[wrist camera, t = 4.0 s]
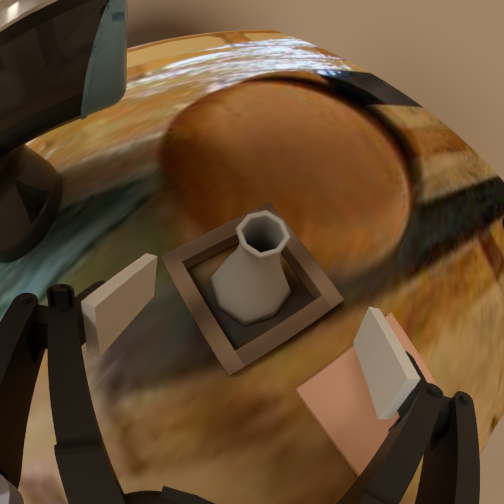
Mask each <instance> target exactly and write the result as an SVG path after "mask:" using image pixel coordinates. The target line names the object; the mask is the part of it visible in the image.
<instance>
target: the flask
mask: <svg viewBox="0 0 504 504" xmlns="http://www.w3.org/2000/svg"><path fill="white" fill-rule="evenodd" d="M236 232H237V235H238V238H239V246H238V248H237V249H236V251H234V252H233V253H232V254H230V255H229V256H228V257H227V258H226V260H225V261H224V262H223V263H222V264H221V266H220V267H219V268H218V269H217V270H216V272H215V273H214V274H213V275H212V277H211V278H210V283H211V286H212V289H213V293H214V296H215V299H216V303H217V306H218V308H219V309H221V310H222V311H223V312H225V313H226V314H228V315H229V316H230V317H232V318H233V319H235V320H236V321H238V322H239V323H240V324H242V325H243V326H247V325H250V324H253V323H256V322H260V321H263V320H266V319H269V318H272V317H275V316H276V314H277V313H278V311H279V310H280V308H281V307H282V305H283V304H284V302H285V301H286V299H287V298H288V296H289V295H290V293H291V290H290V287H289V285H288V282H287V280H286V277H285V275H284V272H283V269H282V266H281V263H280V253H281V251H282V250H283V248H284V247H285V246H286V244H287V243H288V241H289V240H290V238H291V236H290V234H289V232H288V230H287V227H286V225H285V223H284V221H283V220H282V219H280V218H279V217H277V216H276V215H274V214H272V213H271V212H269V211H267V210H265V211H260V212H256V213H251V214H248V215H247V216H246V217H245V218H244V219H243V220H242V222H241V223H240V224H239V225H238V226H237V227H236Z"/></svg>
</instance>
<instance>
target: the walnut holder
mask: <svg viewBox="0 0 504 504" xmlns="http://www.w3.org/2000/svg"><path fill="white" fill-rule="evenodd" d="M265 210H267V211H269V212H271V213H272V214H274V215H276V216H277V217H279V218H280V219H282V220H283V221H284V223H285V225H286V227H287V230H288V232H289V234H290V236H291V238H290V240H289V241H288V243H287V244H286V246H285V247H284V248H283V250H282V251H281V254H282V255H283V257H284V258H285V259H286V261H287V262H288V263H289V265H290V266H291V268H292V269H293V270H294V272H295V273H296V274H297V276H298V277H299V279H300V280H301V281H302V283H303V284H304V286H305V287H306V288H307V290H308V291H309V293H310V294H311V295H312V297H313V298H314V301H313V302H311V303H310V304H308V305H307V306H305V307H304V308H302V309H301V310H299V311H298V312H296V313H295V314H293V315H292V316H290V317H289V318H287V319H286V320H284V321H283V322H281V323H280V324H278V325H276V326H275V327H273V328H272V329H270V330H268V331H267V332H265V333H264V334H262V335H260V336H259V337H257V338H256V339H254V340H252V341H251V342H249V343H247V344H246V345H244V346H242V347H241V348H239V349H237V350H236V351H235V350H234V349H233V347H232V345H231V344H230V342H229V341H228V339H227V337H226V336H225V334H224V333H223V331H222V329H221V328H220V326H219V325H218V323H217V321H216V320H215V318H214V316H213V315H212V313H211V311H210V310H209V308H208V306H207V305H206V303H205V301H204V300H203V298H202V296H201V294H200V293H199V291H198V289H197V287H196V286H195V284H194V282H193V280H192V279H191V277H190V275H189V273H188V272H187V269H189V268H191V267H192V266H194V265H196V264H198V263H200V262H202V261H204V260H206V259H208V258H210V257H212V256H214V255H215V254H217V253H219V252H221V251H223V250H225V249H227V248H229V247H231V246H233V245H235V244H237V243H239V238H238V235H237V232H236V227H237V226H238V225H239V224H240V223H241V222H242V220H243V219H244V218H245V217H246V216H247V215H248V214H251V213H256V212H260V211H265ZM161 258H162V260H163V263H164V265H165V267H166V269H167V270H168V272H169V274H170V276H171V278H172V280H173V282H174V284H175V286H176V288H177V289H178V291H179V293H180V295H181V297H182V299H183V300H184V302H185V304H186V306H187V308H188V309H189V311H190V313H191V315H192V317H193V318H194V320H195V322H196V324H197V325H198V327H199V329H200V330H201V332H202V334H203V335H204V337H205V339H206V340H207V342H208V344H209V345H210V347H211V349H212V350H213V352H214V354H215V355H216V357H217V358H218V360H219V362H220V363H221V365H222V366H223V368H224V370H225V371H226V373H227V374H228V376H230V375H232V374H233V373H235V372H237V371H238V370H240V369H242V368H243V367H245V366H247V365H248V364H250V363H252V362H253V361H255V360H257V359H258V358H260V357H262V356H263V355H265V354H266V353H268V352H269V351H271V350H273V349H274V348H276V347H277V346H279V345H280V344H282V343H283V342H285V341H286V340H288V339H289V338H291V337H292V336H294V335H295V334H297V333H298V332H300V331H301V330H303V329H304V328H306V327H307V326H309V325H310V324H311V323H313V322H314V321H316V320H317V319H318V318H320V317H321V316H323V315H324V314H325V313H327V312H328V311H330V310H331V309H332V308H334V307H335V306H336V305H338V304H339V303H340V302H342V301H343V300H344V299H343V297H342V296H341V295H340V293H339V292H338V290H337V289H336V288H335V286H334V285H333V284H332V282H331V281H330V280H329V278H328V277H327V275H326V274H325V273H324V271H323V270H322V269H321V267H320V266H319V265H318V263H317V262H316V261H315V259H314V258H313V257H312V255H311V254H310V253H309V251H308V250H307V249H306V247H305V246H304V245H303V243H302V242H301V241H300V240H299V238H298V237H297V236H296V234H295V233H294V232H293V230H292V229H291V228H290V227H289V225H288V224H287V223H286V222H285V220H284V219H283V218H282V216H281V215H280V214H279V213H278V211H277V210H276V209H275V208H274V206H273V205H272V204H271V203H270V202H269V203H267V204H265V205H263V206H261V207H259V208H257V209H254V210H252V211H250V212H248V213H246V214H244V215H242V216H240V217H238V218H236V219H234V220H231V221H229V222H227V223H225V224H223V225H221V226H219V227H217V228H215V229H213V230H211V231H209V232H207V233H205V234H203V235H201V236H199V237H197V238H195V239H193V240H191V241H189V242H187V243H185V244H183V245H181V246H179V247H177V248H175V249H173V250H171V251H169V252H167V253H166V254H164V255H162V256H161Z"/></svg>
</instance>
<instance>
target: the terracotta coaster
mask: <svg viewBox="0 0 504 504" xmlns="http://www.w3.org/2000/svg"><path fill="white" fill-rule="evenodd" d="M384 317H385V319H386V320H387V322H388V323H389V325H390V327H391V328H392V330H393V332H394V333H395V335H396V337H397V338H398V340H399V342H400V343H401V345H402V347H403V349H404V350H405V351H407V352H408V353H409V354H410V355H411V356H413V358H414V360H415V361H416V364H417V365H418V367H419V369H420V370H421V372H422V374H423V375H424V377H425V379H426V381H427V383H432V384H435V385H436V386H437V384H436V382H435V381H434V379H433V377H432V375H431V374H430V372H429V370H428V369H427V367H426V365H425V364H424V362H423V361H422V359H421V357H420V356H419V354H418V352H417V351H416V349H415V348H414V346H413V345H412V343H411V341H410V340H409V338H408V337H407V335H406V334H405V332H404V331H403V329H402V328H401V326H400V325H399V323H398V322H397V320H396V319H395V317H394V316H393V314H392V313H391V312H390V313H389V314H387V315H385V316H384ZM293 390H294V391H295V393H296V394H297V396H298V397H299V398H300V400H301V401H302V403H303V404H304V406H305V407H306V408H307V410H308V411H309V412H310V414H311V415H312V417H313V418H314V419H315V421H316V422H317V424H318V425H319V426H320V428H321V429H322V430H323V432H324V433H325V434H326V436H327V437H328V438H329V440H330V441H331V442H332V444H333V445H334V446H335V448H336V449H337V450H338V452H339V453H340V454H341V456H342V457H343V458H344V459H345V461H346V462H347V463H348V465H349V466H350V467H351V469H352V470H353V471H354V472H355V474H356V475H357V476H358V477H359V476H360V475H361V473H362V472H363V470H364V469H365V468H366V466H367V465H368V464H369V462H370V461H371V459H372V458H373V456H374V455H375V453H376V452H377V451H378V449H379V447H380V446H381V444H382V443H383V441H384V440H385V438H386V437H387V435H388V433H389V431H388V430H389V429H390V427H391V426H392V425H393V424H394V423H395V421H396V420H397V419H398V418H399V414H398V411H397V412H396V413H395V415H394V416H393V417H392V418H391V419H378V418H377V414H376V411H375V408H374V404H373V401H372V398H371V395H370V392H369V389H368V386H367V383H366V380H365V377H364V374H363V371H362V368H361V365H360V362H359V359H358V356H357V353H356V351H355V348H354V345H353V344H352V345H350V346H349V347H348V348H347V349H346V350H344V351H343V352H342V353H341V354H339V355H338V356H337V357H335V358H334V359H333V360H332V361H330V362H329V363H328V364H326V365H325V366H324V367H322V368H321V369H320V370H318V371H317V372H316V373H314V374H313V375H312V376H310V377H309V378H307V379H306V380H305V381H303V382H302V383H300V384H299V385H297V386H296V387H295V388H293Z"/></svg>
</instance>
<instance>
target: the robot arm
mask: <svg viewBox="0 0 504 504" xmlns="http://www.w3.org/2000/svg"><path fill="white" fill-rule="evenodd" d="M127 18H128V0H0V261H11V260H14V259H16V258H18V257H20V256H21V255H23V254H24V253H26V252H27V251H28V250H29V249H31V248H32V247H33V246H34V245H35V244H36V243H37V242H38V240H39V239H40V238H41V237H42V236H43V234H44V233H45V232H46V230H47V229H48V227H49V225H50V224H51V222H52V220H53V218H54V216H55V214H56V212H57V210H58V207H59V204H60V200H61V196H62V183H61V179H60V177H59V175H58V174H57V172H56V170H55V169H54V167H53V166H52V165H51V164H50V163H49V162H48V161H47V160H45V159H44V158H43V157H41V156H40V155H39V154H37V153H36V152H35V151H33V150H32V149H31V148H29V147H28V146H27V145H26V144H25V143H27V142H29V141H31V140H33V139H35V138H37V137H39V136H41V135H43V134H45V133H47V132H49V131H52V130H54V129H56V128H58V127H61V126H63V125H66V124H68V123H70V122H73V121H75V120H78V119H82V120H83V119H85V118H86V117H87V116H88V115H90V114H92V113H95V112H97V111H100V110H103V109H105V108H108V107H111V106H113V105H115V104H116V103H118V102H119V101H120V100H121V98H122V97H123V95H124V93H125V91H126V84H127ZM156 267H157V256H155V255H151V254H148V253H146V254H144V255H143V256H142V257H140V258H139V259H137V260H136V261H135V262H133V263H132V264H130V265H129V266H128V267H126V268H125V269H123V270H122V271H121V272H119V273H118V274H117V275H115V276H114V277H112V278H111V279H110V280H108V281H107V282H105V281H99V282H96V283H94V284H92V285H91V286H90V287H88V288H87V289H85V290H84V292H81V293H80V294H79V295H77V296H76V297H75V296H74V289H73V287H71V286H70V285H67V284H55V285H52V286H50V287H49V288H48V289H47V299H48V305H49V306H44V305H39V304H38V299H37V296H36V295H34V294H32V293H22V294H20V295H18V296H16V298H15V299H14V300H13V302H12V303H11V305H10V306H9V308H8V310H7V311H6V313H5V315H4V316H3V318H2V320H1V322H0V504H24V501H23V498H22V495H21V493H20V492H19V491H18V487H19V482H20V477H21V469H22V458H23V448H24V440H25V433H26V427H27V421H28V415H29V410H30V405H31V400H32V396H33V392H34V387H35V383H36V380H37V376H38V372H39V369H40V365H41V362H42V358H43V355H44V352H45V349H48V376H49V390H50V400H51V409H52V416H53V423H54V429H55V435H56V441H57V445H55V446H54V450H55V456H56V461H57V465H58V469H59V473H60V477H61V480H62V484H63V487H64V490H65V494H66V497H67V500H68V503H69V504H214V503H212V502H210V501H208V500H205V499H203V498H201V497H199V496H197V495H193V494H190V493H186V492H182V491H179V490H175V489H172V488H169V487H166V486H163V489H162V492H161V491H138V492H132V493H128V494H124V492H123V490H122V488H121V486H120V483H119V481H118V479H117V477H116V474H115V472H114V469H113V467H112V464H111V462H110V459H109V456H108V453H107V451H106V448H105V445H104V442H103V439H102V436H101V432H100V429H99V426H98V422H97V419H96V415H95V412H94V408H93V404H92V400H91V395H90V391H89V387H88V382H87V377H86V372H85V366H84V361H83V355H82V349H81V346H82V345H83V344H84V343H85V342H86V347H87V351H88V352H90V353H92V354H94V355H96V356H99V357H101V356H102V355H103V353H104V352H105V351H106V350H107V349H108V348H109V346H110V345H111V344H112V343H113V342H114V341H115V339H116V338H117V337H118V336H119V335H120V334H121V333H122V331H123V330H124V329H125V328H126V327H127V326H128V325H129V323H130V322H131V321H132V320H133V319H134V318H135V317H136V316H137V314H138V313H139V312H140V311H141V310H142V309H143V308H144V307H145V306H146V304H147V303H148V302H149V301H150V300H151V299H152V298H153V297H154V291H155V278H156ZM353 345H354V348H355V351H356V353H357V356H358V359H359V362H360V365H361V368H362V371H363V374H364V377H365V380H366V383H367V386H368V389H369V392H370V395H371V398H372V401H373V404H374V408H375V411H376V414H377V418H378V419H391V418H392V417H393V416H394V415H395V413H396V412H397V411H398V414H399V418H398V419H397V420H396V421H395V423H394V424H393V425H392V426H391V427H390V429H389V430H388V431H389V433H388V435H387V437H386V438H385V440H384V441H383V443H382V444H381V446H380V447H379V449H378V451H377V452H376V453H375V455H374V456H373V458H372V459H371V461H370V462H369V464H368V465H367V466H366V468H365V469H364V470H363V472H362V473H361V475H360V476H359V477H358V478H357V480H356V481H355V482H354V484H353V485H352V486H351V487H350V489H349V490H348V491H347V492H346V493H345V495H344V496H343V497H342V498H341V499H340V500H339V502H338V503H337V504H399V502H400V501H401V499H402V497H403V495H404V493H405V492H406V490H407V488H408V486H409V484H410V482H411V480H412V478H413V476H414V474H415V472H416V470H417V468H418V465H419V463H420V461H421V459H422V456H423V454H424V457H423V464H422V470H421V476H420V482H419V487H418V492H417V497H416V501H415V504H479V494H480V459H479V443H478V432H477V424H476V416H475V409H474V403H473V400H472V398H471V397H470V395H468V394H467V393H464V392H461V391H459V392H456V393H455V395H454V396H453V397H452V398H449V397H445V396H443V392H442V390H441V389H440V388H439V387H438V386H436V385H435V384H432V383H427V381H426V379H425V377H424V375H423V374H422V372H421V370H420V369H419V367H418V365H417V364H416V361H415V360H414V358H413V356H411V355H410V354H409V353H408V352H407V351H405V350H404V349H403V347H402V345H401V343H400V342H399V340H398V338H397V337H396V335H395V333H394V332H393V330H392V328H391V327H390V325H389V323H388V322H387V320H386V319H385V317H384V315H383V314H382V312H381V311H380V309H378V308H373V307H369V308H368V310H367V312H366V315H365V317H364V319H363V322H362V324H361V326H360V328H359V330H358V333H357V335H356V337H355V339H354V341H353Z"/></svg>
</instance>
